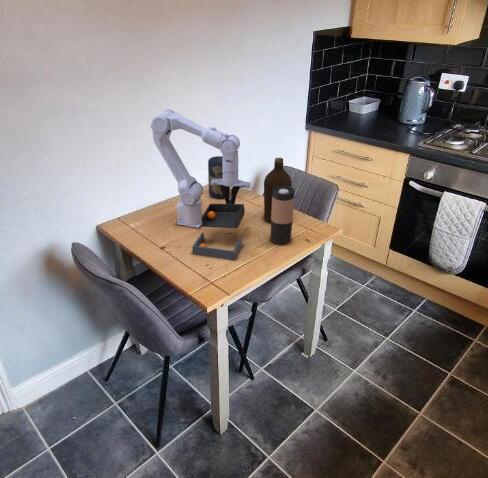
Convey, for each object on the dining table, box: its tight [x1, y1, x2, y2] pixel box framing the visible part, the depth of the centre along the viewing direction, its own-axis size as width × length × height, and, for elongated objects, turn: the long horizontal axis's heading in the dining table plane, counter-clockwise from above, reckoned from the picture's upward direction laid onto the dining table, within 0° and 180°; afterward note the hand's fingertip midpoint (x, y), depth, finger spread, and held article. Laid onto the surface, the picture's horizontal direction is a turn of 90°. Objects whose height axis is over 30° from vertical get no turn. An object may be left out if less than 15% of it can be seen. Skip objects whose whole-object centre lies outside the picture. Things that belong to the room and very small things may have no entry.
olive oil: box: [263, 157, 293, 224], centre depth 166 cm, size 11×11×25 cm
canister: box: [207, 155, 231, 199], centre depth 189 cm, size 10×10×18 cm
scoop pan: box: [201, 196, 246, 229], centre depth 158 cm, size 19×13×4 cm
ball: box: [207, 211, 216, 220], centre depth 156 cm, size 3×3×3 cm
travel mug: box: [270, 186, 296, 246], centre depth 153 cm, size 8×8×20 cm
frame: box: [192, 232, 243, 261], centre depth 152 cm, size 10×15×3 cm
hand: (230, 204), depth 163 cm, fingers closed on scoop pan, 2 cm apart
